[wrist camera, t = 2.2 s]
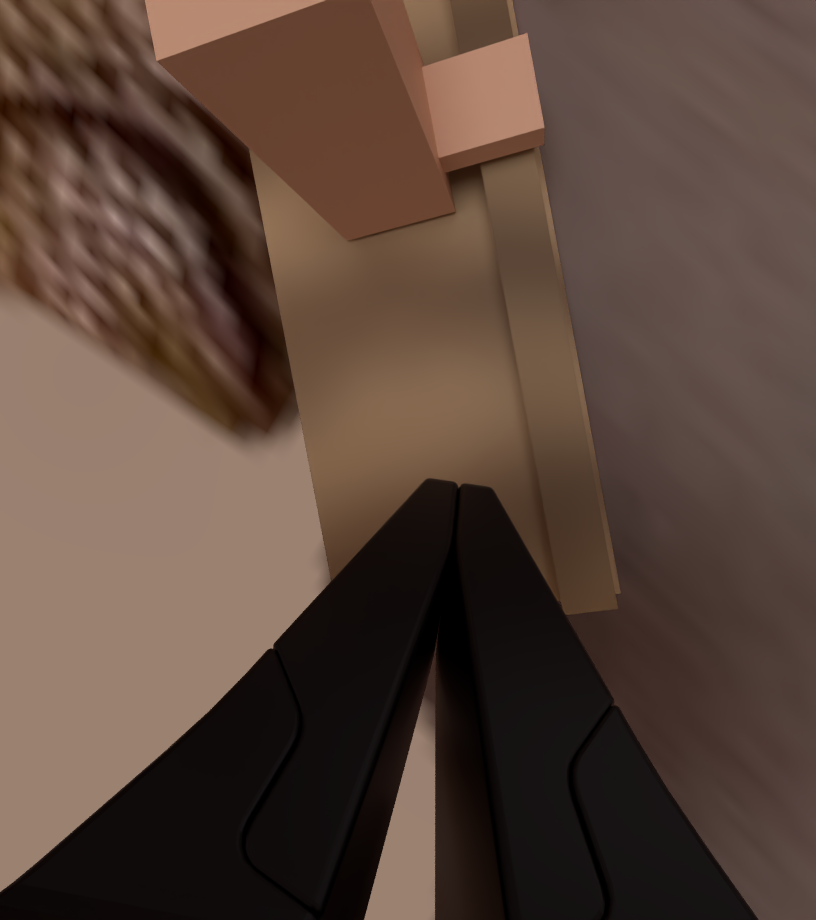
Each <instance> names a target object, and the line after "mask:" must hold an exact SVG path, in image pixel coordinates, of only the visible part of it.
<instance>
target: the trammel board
mask: <svg viewBox="0 0 816 920" xmlns="http://www.w3.org/2000/svg"><path fill="white" fill-rule="evenodd" d="M403 2H404V5H405V8H406V11H407V14H408V17H409V20H410V24H411V27H412V30H413V33H414V36H415V39H416V42H417V45H418V48H419V51H420V54H421V57H422V60H423V63H424V66H427V65H430V64H433V63H436V62H439V61H442V60H445V59H448V58H451V57H454V56H458V55H461V54H464V53H467V52H470V51H473V50H476V49H479V48H482V47H485V46H489V45H492V44H495V43H498V42H501V41H504V40H507V39H510V38H513V37H516V36H519V35H518V29H517V24H516V18H515V13H514V7H513V2H512V0H403ZM249 151H250V157H251V162H252V167H253V172H254V178H255V183H256V188H257V193H258V199H259V204H260V209H261V214H262V220H263V225H264V230H265V235H266V241H267V246H268V251H269V256H270V262H271V267H272V272H273V277H274V283H275V288H276V293H277V298H278V304H279V309H280V314H281V319H282V325H283V330H284V335H285V340H286V346H287V351H288V356H289V361H290V367H291V372H292V377H293V382H294V388H295V393H296V398H297V403H298V409H299V414H300V419H301V424H302V430H303V435H304V440H305V445H306V450H307V456H308V461H309V466H310V472H311V477H312V482H313V487H314V493H315V497H316V503H317V508H318V514H319V519H320V524H321V529H322V535H323V540H324V545H325V550H326V556H327V561H328V566H329V571H330V576H331V581H332V580H333V579H334V578H335V577H336V576H337V575H338V573H339V572H340V571H341V570H342V569H343V568H344V567H345V566H346V565H347V564H348V563H349V562H350V560H351V559H352V558H353V557H354V556H355V555H356V554H357V553H358V552H359V551H360V550H361V549H362V547H363V546H364V545H365V544H366V543H367V542H368V541H369V540H370V539H371V538H372V537H373V535H374V534H375V533H376V532H377V531H378V530H379V529H380V528H381V527H382V526H383V525H384V524H385V522H386V521H387V520H388V519H389V518H390V517H391V516H392V515H393V514H394V513H395V512H396V511H397V509H398V508H399V507H400V506H401V505H402V504H403V503H404V502H405V501H406V500H407V499H408V497H409V496H410V495H411V494H412V493H413V492H414V491H415V490H416V489H417V488H418V487H419V486H420V484H421V483H422V482H423V481H424V480H425V479H428V478H434V479H441V480H448V481H454V482H456V483H457V485H458V489H459V486H460V485H461V484H463V483H468V484H475V485H482V486H488V487H491V488H492V489H493V490H494V491H495V493H496V495H497V496H498V498H499V500H500V502H501V503H502V505H503V507H504V509H505V510H506V512H507V514H508V516H509V517H510V519H511V521H512V523H513V524H514V526H515V528H516V530H517V531H518V533H519V535H520V537H521V538H522V540H523V542H524V543H525V545H526V547H527V549H528V550H529V552H530V554H531V556H532V557H533V559H534V561H535V563H536V564H537V566H538V568H539V570H540V571H541V573H542V575H543V577H544V578H545V580H546V582H547V584H548V585H549V587H550V589H551V590H552V592H553V594H554V596H555V597H556V599H557V601H561V604H562V610H563V611H564V613H565V615H572V614H580V613H588V612H596V611H604V610H613V609H618V605H617V600H616V594H621V592H620V586H619V581H618V575H617V570H616V564H615V559H614V553H613V548H612V543H611V537H610V532H609V526H608V521H607V515H606V510H605V504H604V499H603V493H602V488H601V482H600V477H599V472H598V466H597V461H596V455H595V450H594V444H593V439H592V433H591V428H590V422H589V417H588V411H587V406H586V401H585V395H584V390H583V384H582V379H581V373H580V368H579V362H578V357H577V351H576V346H575V340H574V335H573V330H572V324H571V319H570V313H569V308H568V302H567V297H566V291H565V286H564V280H563V275H562V269H561V264H560V259H559V253H558V248H557V242H556V237H555V231H554V226H553V220H552V215H551V209H550V204H549V198H548V193H547V188H546V182H545V177H544V171H543V166H542V160H541V155H540V149H539V146H538V147H534V148H531V149H527V150H524V151H520V152H517V153H513V154H510V155H506V156H502V157H499V158H495V159H492V160H488V161H485V162H481V163H478V164H474V165H471V166H467V167H464V168H460V169H456V170H453V171H449V178H450V183H451V188H452V194H453V199H454V205H455V210H456V212H452V213H449V214H445V215H441V216H438V217H434V218H430V219H426V220H423V221H419V222H415V223H411V224H408V225H404V226H400V227H397V228H393V229H389V230H385V231H382V232H378V233H374V234H370V235H367V236H363V237H359V238H355V239H352V240H348V241H347V240H346V239H345V238H344V237H343V236H342V235H340V234H339V233H338V232H337V231H336V230H335V229H334V228H333V227H332V226H331V225H330V224H329V223H328V222H327V221H326V220H325V219H324V218H322V217H321V216H320V215H319V214H318V213H317V212H316V211H315V210H314V209H313V208H312V207H311V206H310V205H309V204H308V203H307V202H306V201H304V200H303V199H302V198H301V197H300V196H299V195H298V194H297V193H296V192H295V191H294V190H293V189H292V188H291V187H290V186H289V185H288V184H286V183H285V182H284V181H283V180H282V179H281V178H280V177H279V176H278V175H277V174H276V173H275V172H274V171H273V170H272V169H271V168H270V167H268V166H267V165H266V164H265V163H264V162H263V161H262V160H261V159H260V158H259V157H258V156H257V155H256V154H255V153H254V152H253V151H252V150H250V149H249Z"/></svg>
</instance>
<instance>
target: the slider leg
mask: <svg viewBox="0 0 816 920" xmlns="http://www.w3.org/2000/svg"><path fill="white" fill-rule="evenodd" d="M145 3H146V8H147V13H148V18H149V24H150V29H151V34H152V39H153V44H154V50H155V55H156V60H157V62H158V63H159V64H160V65H162V66H163V67H164V68H165V69H166V70H167V71H168V72H169V73H170V74H171V75H172V76H173V77H174V78H175V79H176V80H177V81H178V82H180V83H181V84H182V85H183V86H184V87H185V88H186V89H187V90H188V91H189V92H190V93H191V94H192V95H193V96H194V97H195V98H196V99H198V100H199V101H200V102H201V103H202V104H203V105H204V106H205V107H206V108H207V109H208V110H209V111H210V112H211V113H212V114H213V115H214V116H216V117H217V118H218V119H219V120H220V121H221V122H222V123H223V124H224V125H225V126H226V127H227V128H228V129H229V130H230V131H231V132H232V133H234V134H235V135H236V136H237V137H238V138H239V139H240V140H241V141H242V142H243V143H244V144H245V145H246V146H247V147H248V148H249V149H250V150H252V151H253V152H254V153H255V154H256V155H257V156H258V157H259V158H260V159H261V160H262V161H263V162H264V163H265V164H266V165H267V166H268V167H270V168H271V169H272V170H273V171H274V172H275V173H276V174H277V175H278V176H279V177H280V178H281V179H282V180H283V181H284V182H285V183H286V184H288V185H289V186H290V187H291V188H292V189H293V190H294V191H295V192H296V193H297V194H298V195H299V196H300V197H301V198H302V199H303V200H304V201H306V202H307V203H308V204H309V205H310V206H311V207H312V208H313V209H314V210H315V211H316V212H317V213H318V214H319V215H320V216H321V217H322V218H324V219H325V220H326V221H327V222H328V223H329V224H330V225H331V226H332V227H333V228H334V229H335V230H336V231H337V232H338V233H339V234H340V235H342V236H343V237H344V238H345V239H346V240H347V241H348V240H352V239H355V238H359V237H363V236H367V235H370V234H374V233H378V232H382V231H385V230H389V229H393V228H397V227H400V226H404V225H408V224H411V223H415V222H419V221H423V220H426V219H430V218H434V217H438V216H441V215H445V214H449V213H452V212H456V210H455V205H454V199H453V194H452V188H451V183H450V178H449V171H453V170H456V169H460V168H464V167H467V166H471V165H474V164H478V163H481V162H485V161H488V160H492V159H495V158H499V157H502V156H506V155H510V154H513V153H517V152H520V151H524V150H527V149H531V148H534V147H538V146H541V145H544V123H543V117H542V112H541V106H540V101H539V95H538V90H537V84H536V79H535V73H534V68H533V63H532V57H531V52H530V46H529V41H528V35H527V33H526V34H523V35H520V36H516V37H513V38H510V39H507V40H504V41H501V42H498V43H495V44H492V45H489V46H485V47H482V48H479V49H476V50H473V51H470V52H467V53H464V54H461V55H458V56H454V57H451V58H448V59H445V60H442V61H439V62H436V63H433V64H430V65H427V66H424V63H423V60H422V57H421V54H420V51H419V48H418V45H417V42H416V39H415V36H414V33H413V30H412V27H411V24H410V20H409V17H408V14H407V11H406V8H405V5H404V2H403V0H145Z"/></svg>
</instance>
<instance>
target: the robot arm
mask: <svg viewBox="0 0 816 920" xmlns="http://www.w3.org/2000/svg"><path fill="white" fill-rule="evenodd" d="M438 628H439V629H438ZM437 634H438V638H437ZM436 640H437V648H436V737H435V773H436V774H435V775H436V777H435V803H436V805H435V810H436V811H435V815H436V816H435V920H758V918H757V917H756V915H755V914H754V913H753V911H752V910H751V908H750V907H749V905H748V904H747V903H746V901H745V900H744V898H743V897H742V896H741V894H740V893H739V891H738V890H737V889H736V887H735V886H734V884H733V883H732V882H731V880H730V879H729V877H728V876H727V875H726V873H725V872H724V870H723V869H722V868H721V866H720V865H719V863H718V862H717V860H716V859H715V858H714V856H713V855H712V853H711V852H710V851H709V849H708V848H707V846H706V845H705V843H704V842H703V840H702V839H701V837H700V836H699V835H698V833H697V832H696V830H695V829H694V827H693V826H692V824H691V823H690V821H689V820H688V819H687V817H686V816H685V814H684V813H683V811H682V810H681V808H680V807H679V805H678V804H677V802H676V801H675V799H674V798H673V796H672V795H671V793H670V792H669V791H668V789H667V787H666V786H665V784H664V782H663V781H662V779H661V778H660V776H659V774H658V773H657V771H656V769H655V768H654V766H653V764H652V763H651V761H650V760H649V758H648V756H647V755H646V753H645V751H644V750H643V748H642V746H641V745H640V743H639V741H638V740H637V738H636V736H635V735H634V733H633V731H632V729H631V728H630V726H629V724H628V722H627V721H626V719H625V717H624V715H623V714H622V712H621V710H620V708H619V707H618V706H615V705H614V706H613V704H614V698H613V697H612V695H611V693H610V691H609V690H608V688H607V686H606V684H605V683H604V681H603V679H602V678H601V676H600V674H599V672H598V671H597V669H596V667H595V665H594V664H593V662H592V660H591V658H590V657H589V655H588V653H587V651H586V650H585V648H584V646H583V644H582V643H581V641H580V639H579V637H578V636H577V634H576V632H575V631H574V629H573V627H572V625H571V624H570V622H569V620H568V618H567V617H566V615H565V613H564V611H563V610H562V608H561V606H560V604H559V603H558V601H557V599H556V597H555V596H554V594H553V592H552V590H551V589H550V587H549V585H548V584H547V582H546V580H545V578H544V577H543V575H542V573H541V571H540V570H539V568H538V566H537V564H536V563H535V561H534V559H533V557H532V556H531V554H530V552H529V550H528V549H527V547H526V545H525V543H524V542H523V540H522V538H521V537H520V535H519V533H518V531H517V530H516V528H515V526H514V524H513V523H512V521H511V519H510V517H509V516H508V514H507V512H506V510H505V509H504V507H503V505H502V503H501V502H500V500H499V498H498V496H497V495H496V493H495V491H494V490H493V489H492V488H491V487H488V486H482V485H475V484H468V483H463V484H461V485H460V486H459V489H458V485H457V483H456V482H454V481H448V480H441V479H434V478H428V479H425V480H424V481H423V482H422V483H421V484H420V486H419V487H418V488H417V489H416V490H415V491H414V492H413V493H412V494H411V495H410V496H409V497H408V499H407V500H406V501H405V502H404V503H403V504H402V505H401V506H400V507H399V508H398V509H397V511H396V512H395V513H394V514H393V515H392V516H391V517H390V518H389V519H388V520H387V521H386V522H385V524H384V525H383V526H382V527H381V528H380V529H379V530H378V531H377V532H376V533H375V534H374V535H373V537H372V538H371V539H370V540H369V541H368V542H367V543H366V544H365V545H364V546H363V547H362V549H361V550H360V551H359V552H358V553H357V554H356V555H355V556H354V557H353V558H352V559H351V560H350V562H349V563H348V564H347V565H346V566H345V567H344V568H343V569H342V570H341V571H340V572H339V573H338V575H337V576H336V577H335V578H334V579H333V580H332V581H331V582H330V583H329V584H328V585H327V587H326V588H325V589H324V590H323V591H322V592H321V593H320V594H319V595H318V596H317V597H316V598H315V600H314V601H313V602H312V603H311V604H310V605H309V606H308V607H307V608H306V609H305V610H304V611H303V613H302V614H301V615H300V616H299V617H298V618H297V619H296V620H295V621H294V622H293V623H292V625H291V626H290V627H289V628H288V629H287V630H286V631H285V632H284V633H283V634H282V635H281V636H280V638H279V639H278V640H277V641H276V642H275V643H274V645H273V649H268V650H267V651H266V652H265V653H264V654H263V656H262V657H261V658H260V659H259V660H258V661H257V662H256V663H255V664H254V665H253V666H252V668H251V669H250V670H249V671H248V672H247V673H246V674H245V675H244V676H243V677H242V678H241V679H240V680H239V681H238V682H237V683H236V684H235V685H234V686H233V688H231V690H229V691H228V693H226V695H224V696H223V698H222V699H221V700H220V701H219V702H218V703H217V704H216V705H215V706H214V707H213V708H212V709H211V710H210V711H209V712H208V713H207V714H205V715H204V717H202V718H201V719H200V720H199V721H198V722H197V723H196V724H194V725H193V726H192V727H191V728H190V729H189V730H188V731H187V732H186V733H185V734H183V735H182V736H181V737H180V738H179V739H178V740H177V741H176V742H175V743H174V744H172V745H171V746H170V747H169V748H168V749H167V750H166V751H165V752H164V753H163V754H161V755H160V756H159V757H158V758H157V759H156V760H155V761H153V762H152V763H151V764H150V765H149V766H148V767H146V768H145V769H144V770H143V771H142V772H141V773H140V774H138V775H137V776H136V777H135V778H134V779H133V780H132V781H130V782H129V783H128V784H127V785H126V786H125V787H124V788H122V789H121V790H120V791H119V792H118V793H117V794H115V795H114V796H113V797H112V798H111V799H110V800H108V801H107V802H106V803H105V804H104V805H103V806H102V807H101V808H99V809H98V810H97V811H96V812H95V813H93V814H92V815H91V816H90V817H89V818H88V819H87V820H85V821H84V822H83V823H82V824H81V825H80V826H79V827H77V828H76V829H75V830H74V831H73V832H72V833H70V834H69V835H68V836H67V837H66V838H65V839H64V840H62V841H61V842H60V843H59V844H58V845H57V846H55V847H54V848H53V849H52V850H51V851H50V852H49V853H48V854H46V855H45V856H44V857H43V858H42V859H41V860H39V861H38V862H37V863H36V864H35V865H33V867H31V868H30V869H29V870H27V871H26V872H25V873H24V874H23V875H22V876H20V877H19V878H18V879H17V880H16V881H14V882H13V883H12V884H10V885H9V886H8V887H7V888H5V889H4V890H2V891H1V892H0V920H364V918H365V914H366V910H367V906H368V902H369V899H370V895H371V891H372V887H373V884H374V879H375V876H376V872H377V869H378V865H379V861H380V857H381V853H382V850H383V846H384V842H385V838H386V835H387V830H388V827H389V823H390V820H391V816H392V812H393V808H394V804H395V801H396V797H397V793H398V789H399V786H400V782H401V778H402V774H403V771H404V767H405V763H406V759H407V755H408V751H409V748H410V744H411V740H412V737H413V733H414V729H415V725H416V722H417V718H418V714H419V710H420V706H421V703H422V699H423V695H424V691H425V688H426V684H427V680H428V676H429V673H430V669H431V664H432V660H433V656H434V651H435V646H436Z"/></svg>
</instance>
